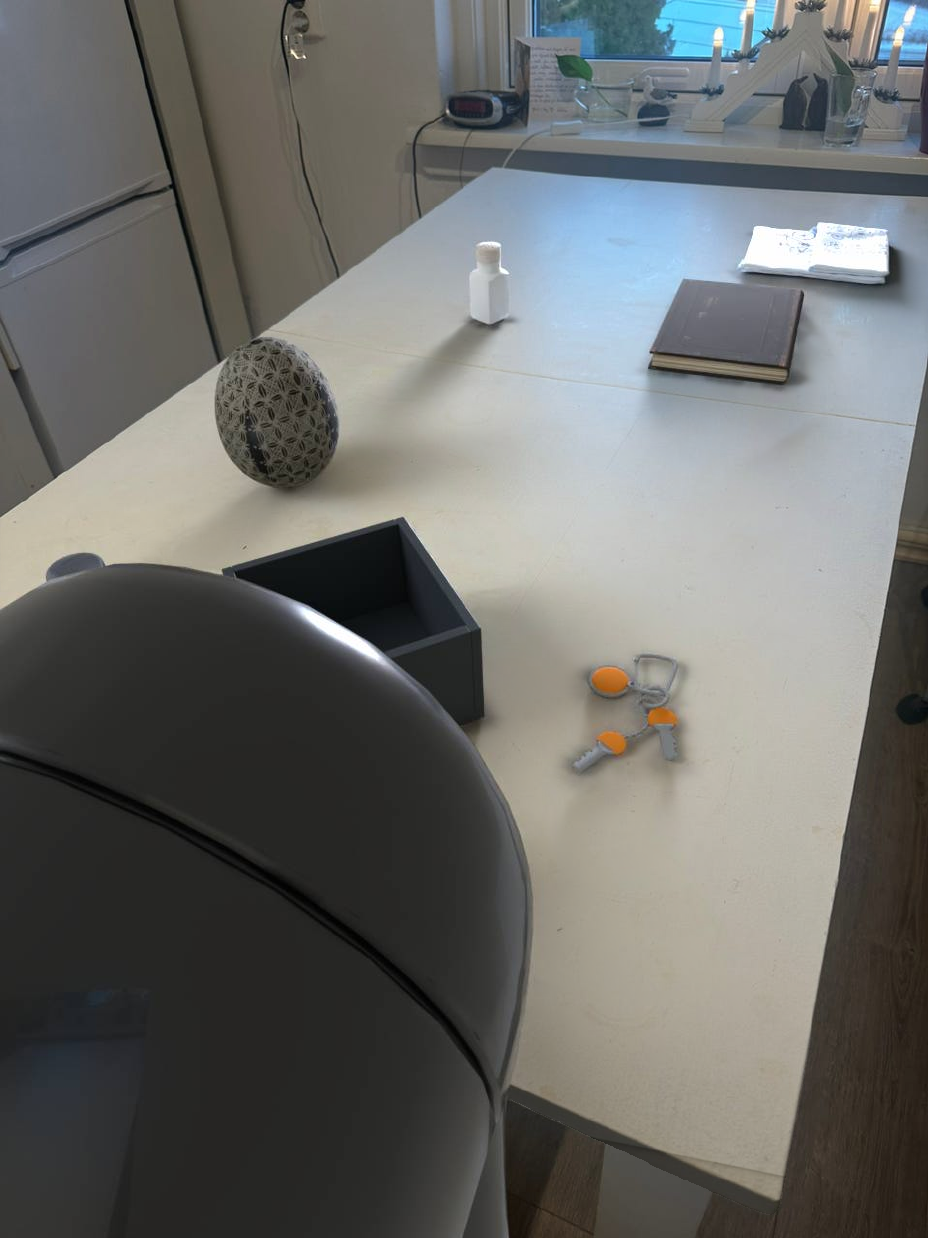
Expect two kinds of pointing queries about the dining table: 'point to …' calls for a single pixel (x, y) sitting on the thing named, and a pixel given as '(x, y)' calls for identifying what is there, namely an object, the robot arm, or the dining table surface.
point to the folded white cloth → (821, 253)
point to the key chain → (617, 684)
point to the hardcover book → (729, 331)
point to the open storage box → (387, 605)
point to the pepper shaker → (489, 285)
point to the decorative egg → (276, 413)
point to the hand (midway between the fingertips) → (246, 769)
